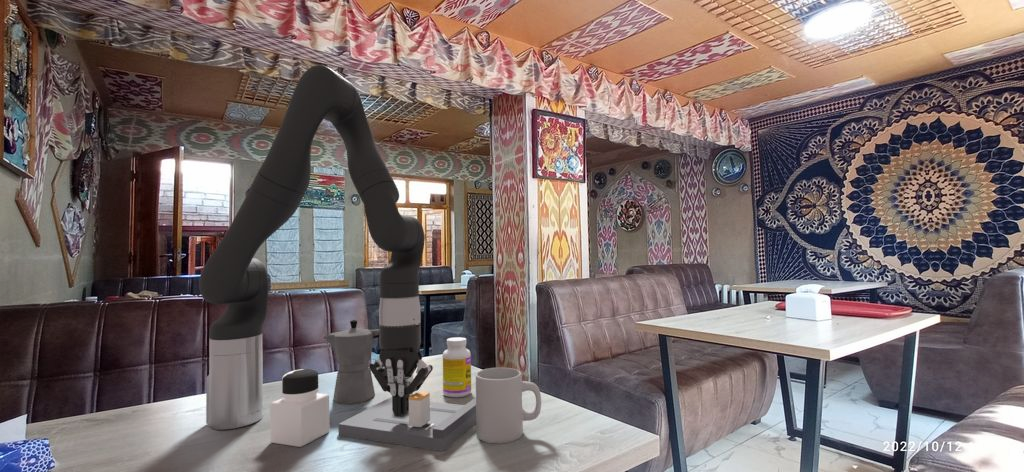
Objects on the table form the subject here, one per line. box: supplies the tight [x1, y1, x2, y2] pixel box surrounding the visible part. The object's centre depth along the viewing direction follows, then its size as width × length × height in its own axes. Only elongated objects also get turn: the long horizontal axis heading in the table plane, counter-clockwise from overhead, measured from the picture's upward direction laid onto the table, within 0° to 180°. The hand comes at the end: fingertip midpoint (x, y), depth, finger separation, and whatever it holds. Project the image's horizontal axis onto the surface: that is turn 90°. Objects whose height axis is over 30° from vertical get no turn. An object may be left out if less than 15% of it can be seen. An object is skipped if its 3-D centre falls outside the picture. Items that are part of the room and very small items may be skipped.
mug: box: [475, 367, 542, 444], centre depth 81 cm, size 12×8×11 cm
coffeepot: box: [323, 319, 379, 405], centre depth 104 cm, size 15×9×18 cm, turn 100°
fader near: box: [409, 391, 431, 427], centre depth 81 cm, size 2×3×5 cm
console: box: [337, 396, 476, 452], centre depth 86 cm, size 22×16×4 cm
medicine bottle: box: [269, 368, 330, 448], centre depth 82 cm, size 7×7×12 cm
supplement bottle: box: [442, 336, 472, 398], centre depth 105 cm, size 7×7×13 cm
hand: (401, 415), depth 82 cm, fingers closed
